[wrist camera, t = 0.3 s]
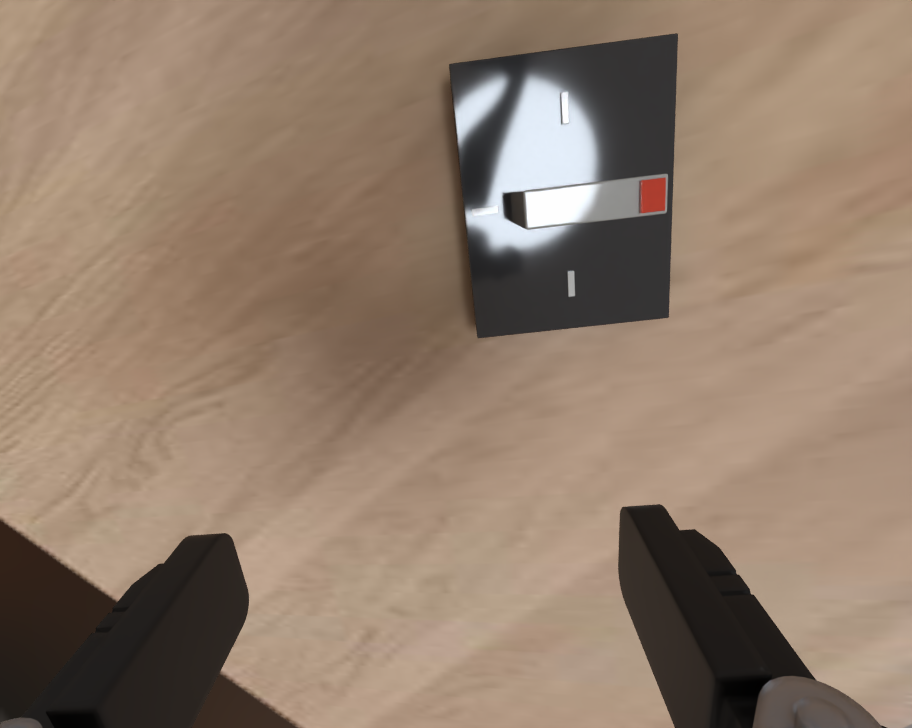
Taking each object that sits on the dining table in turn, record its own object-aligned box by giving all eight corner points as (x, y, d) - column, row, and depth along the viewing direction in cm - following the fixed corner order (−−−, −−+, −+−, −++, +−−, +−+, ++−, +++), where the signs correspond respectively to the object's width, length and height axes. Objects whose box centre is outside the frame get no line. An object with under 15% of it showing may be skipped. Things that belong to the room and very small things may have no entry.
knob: (512, 223, 26) (526, 230, 20) (510, 192, 25) (523, 190, 20) (625, 210, 25) (670, 213, 20) (625, 178, 25) (671, 172, 19)
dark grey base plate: (450, 78, 26) (448, 62, 23) (654, 51, 26) (679, 31, 23) (475, 325, 31) (477, 339, 28) (649, 306, 30) (670, 318, 27)
